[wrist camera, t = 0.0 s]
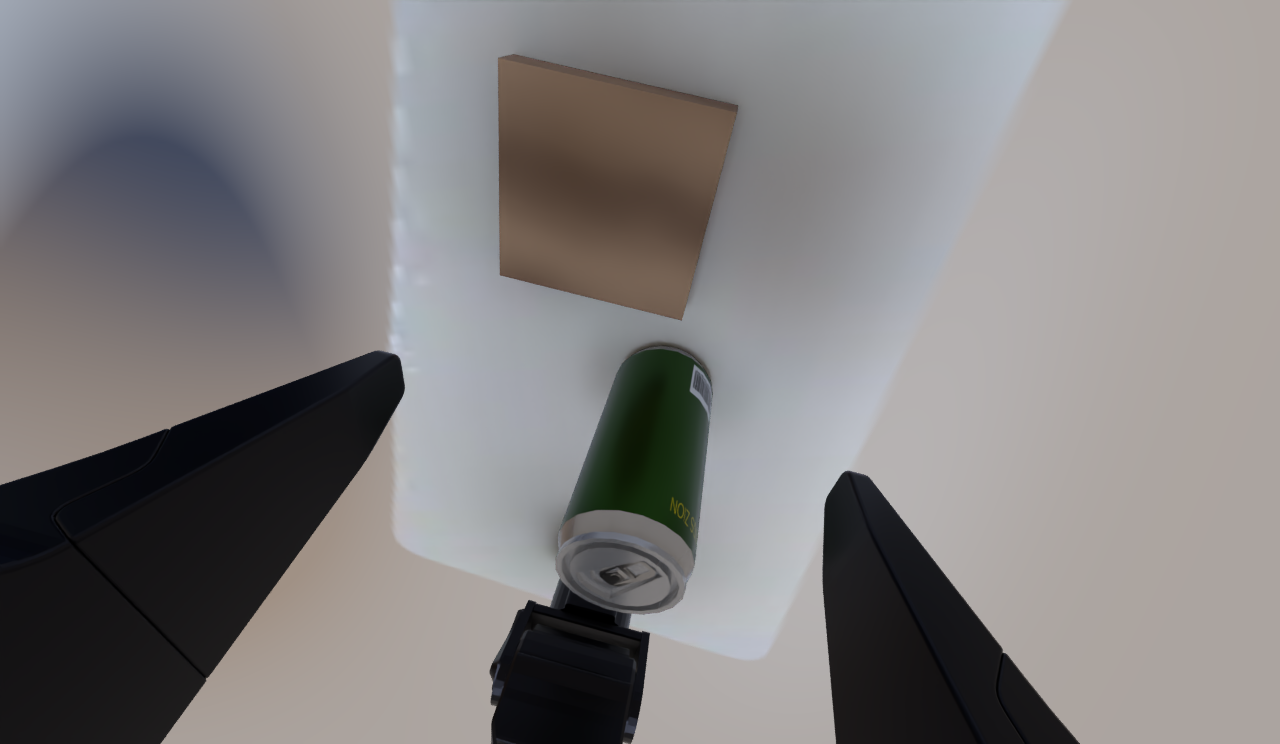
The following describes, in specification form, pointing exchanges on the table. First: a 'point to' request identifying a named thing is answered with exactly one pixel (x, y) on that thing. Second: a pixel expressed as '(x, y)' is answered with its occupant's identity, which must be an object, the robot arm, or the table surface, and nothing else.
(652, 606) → the beer can
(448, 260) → the table surface
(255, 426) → the robot arm
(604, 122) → the brown square coaster
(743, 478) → the table surface
